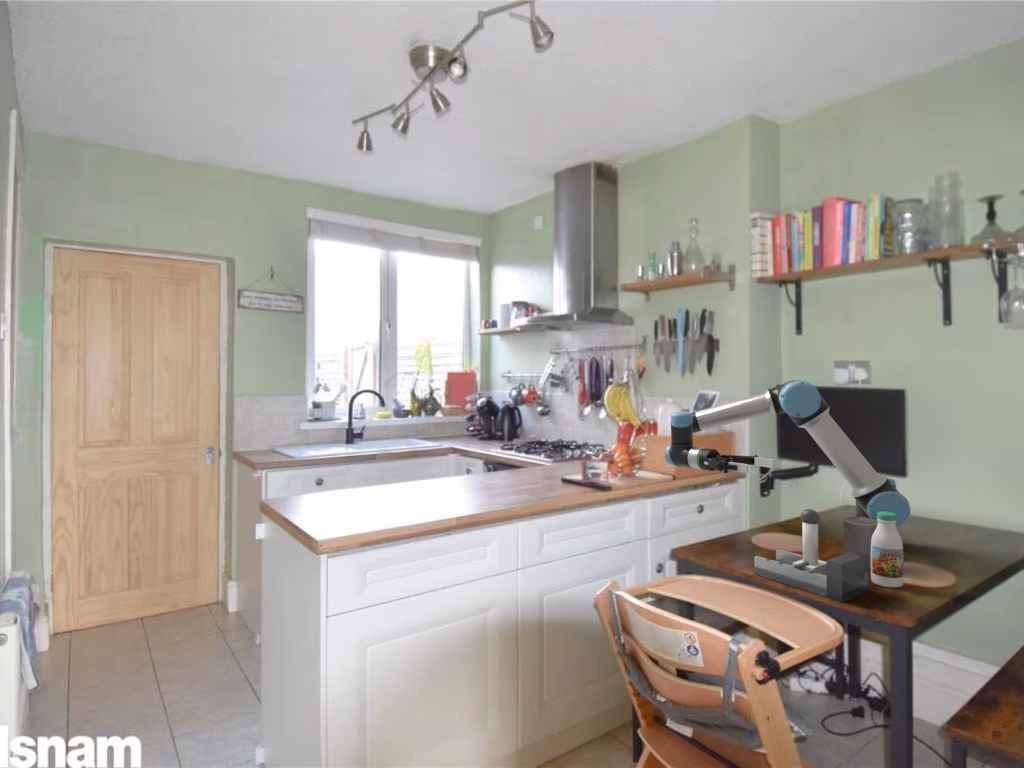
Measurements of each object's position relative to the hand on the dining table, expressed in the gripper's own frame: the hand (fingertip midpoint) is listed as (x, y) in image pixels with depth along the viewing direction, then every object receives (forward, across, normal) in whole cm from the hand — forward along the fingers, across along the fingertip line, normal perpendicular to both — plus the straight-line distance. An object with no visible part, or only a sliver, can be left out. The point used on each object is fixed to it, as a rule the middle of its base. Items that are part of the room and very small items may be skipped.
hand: (760, 466), depth 181 cm
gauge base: (+17, +4, -31) cm, 35 cm away
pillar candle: (+18, -23, -31) cm, 43 cm away
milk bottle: (+30, -12, -31) cm, 45 cm away
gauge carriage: (+18, +6, -28) cm, 34 cm away
